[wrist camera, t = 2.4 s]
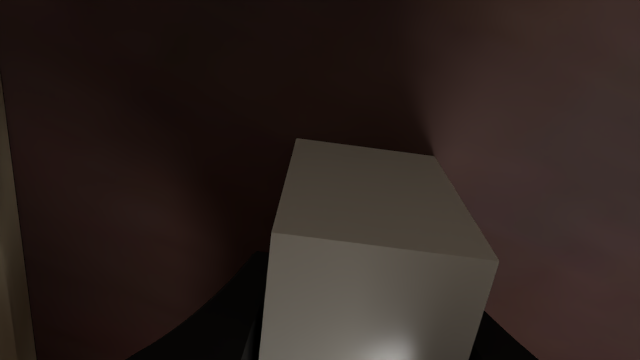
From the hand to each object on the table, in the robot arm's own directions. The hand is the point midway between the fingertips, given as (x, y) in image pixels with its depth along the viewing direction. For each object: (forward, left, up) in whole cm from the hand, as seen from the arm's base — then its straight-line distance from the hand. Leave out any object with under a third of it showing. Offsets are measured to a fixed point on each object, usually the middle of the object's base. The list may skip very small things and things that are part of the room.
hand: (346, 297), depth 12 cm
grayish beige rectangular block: (-3, 0, -2) cm, 3 cm away
